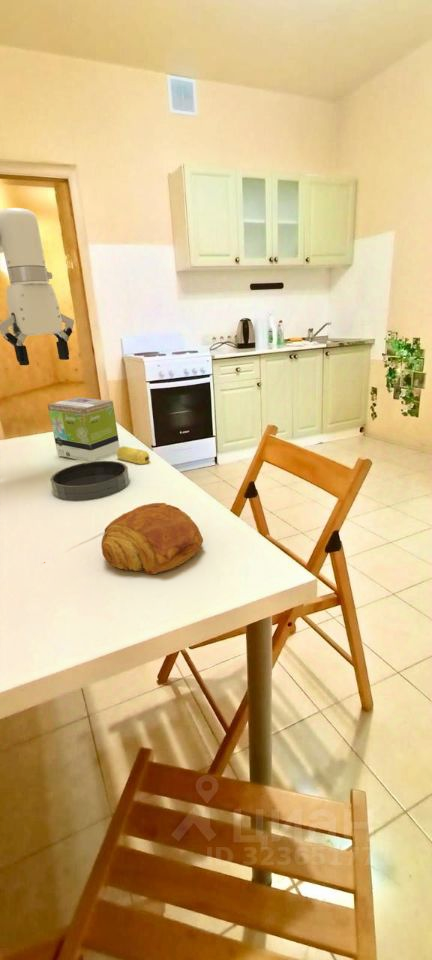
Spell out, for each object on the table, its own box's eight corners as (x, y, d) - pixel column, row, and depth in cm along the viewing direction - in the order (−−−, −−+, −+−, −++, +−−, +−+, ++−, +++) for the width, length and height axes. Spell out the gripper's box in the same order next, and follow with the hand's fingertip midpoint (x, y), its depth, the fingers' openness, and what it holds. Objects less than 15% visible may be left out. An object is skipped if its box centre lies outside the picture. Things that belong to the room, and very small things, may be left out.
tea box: (56, 457, 122) (45, 403, 117) (85, 447, 130) (76, 396, 124) (93, 464, 114) (83, 406, 109) (122, 453, 121) (114, 399, 116)
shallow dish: (38, 492, 97) (35, 477, 96) (100, 470, 109) (98, 457, 107) (81, 509, 87) (78, 492, 86) (145, 483, 99) (143, 468, 97)
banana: (111, 453, 114) (118, 442, 115) (119, 462, 117) (127, 451, 118) (139, 460, 107) (147, 448, 108) (148, 469, 110) (155, 457, 111)
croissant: (94, 565, 71) (78, 522, 68) (172, 520, 79) (161, 480, 76) (142, 602, 60) (126, 553, 57) (226, 546, 69) (216, 500, 65)
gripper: (56, 279, 101) (69, 357, 108) (-22, 279, 89) (-1, 367, 95) (74, 276, 97) (87, 357, 103) (-5, 275, 85) (16, 367, 91)
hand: (45, 362), depth 99 cm, fingers open, 9 cm apart
